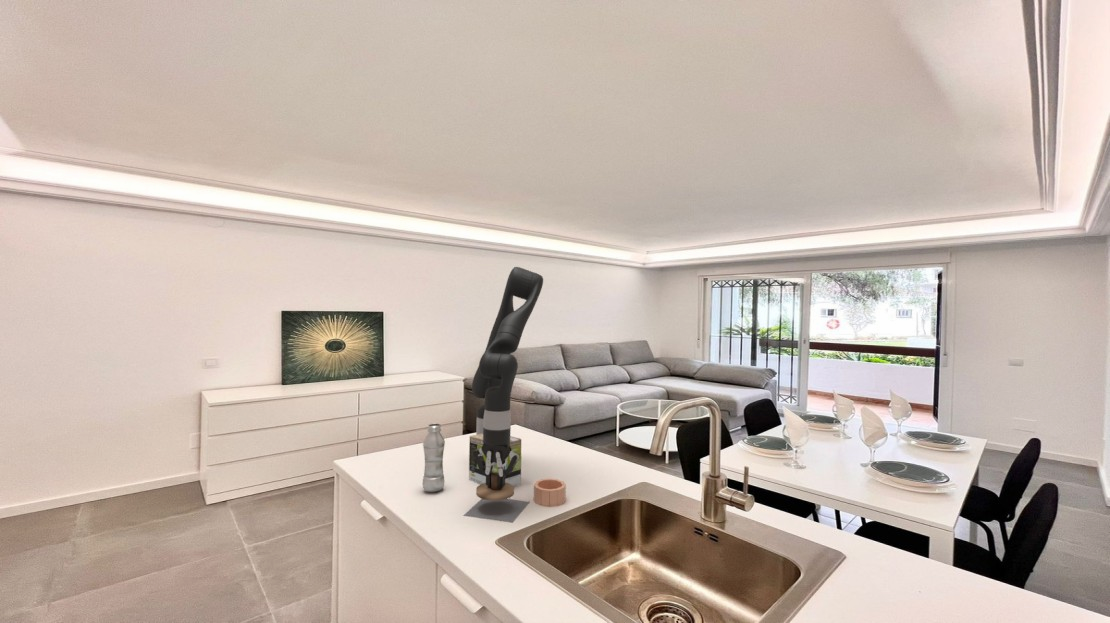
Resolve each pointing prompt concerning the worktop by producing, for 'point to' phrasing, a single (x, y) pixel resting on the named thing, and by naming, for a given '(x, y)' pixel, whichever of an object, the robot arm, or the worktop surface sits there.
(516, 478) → the tea box
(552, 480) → the bowl
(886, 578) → the worktop surface
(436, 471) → the plastic bottle
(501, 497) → the lid
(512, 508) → the mat
